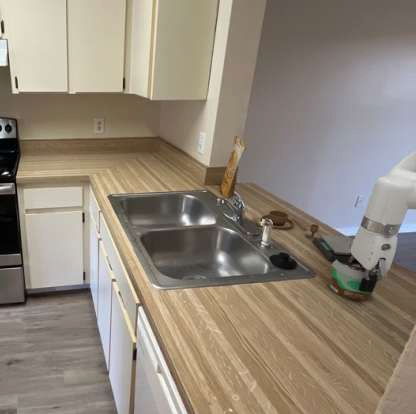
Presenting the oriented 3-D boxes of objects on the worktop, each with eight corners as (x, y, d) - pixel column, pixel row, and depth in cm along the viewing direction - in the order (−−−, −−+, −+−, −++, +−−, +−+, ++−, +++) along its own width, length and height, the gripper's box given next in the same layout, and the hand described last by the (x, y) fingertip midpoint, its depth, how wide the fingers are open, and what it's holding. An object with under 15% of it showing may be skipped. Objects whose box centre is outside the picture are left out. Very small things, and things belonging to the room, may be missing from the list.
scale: (346, 246, 119) (348, 239, 118) (366, 266, 108) (368, 258, 107) (312, 243, 121) (314, 236, 120) (328, 262, 110) (331, 255, 108)
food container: (332, 301, 92) (343, 271, 88) (324, 287, 97) (333, 258, 93) (384, 308, 89) (397, 277, 85) (372, 294, 94) (384, 264, 90)
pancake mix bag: (233, 187, 176) (242, 135, 165) (237, 200, 159) (247, 143, 148) (219, 186, 178) (227, 134, 167) (222, 199, 161) (231, 142, 150)
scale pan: (349, 239, 118) (349, 237, 117) (368, 256, 107) (368, 254, 107) (319, 236, 119) (320, 234, 119) (335, 253, 108) (335, 251, 108)
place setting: (291, 218, 141) (294, 205, 139) (318, 241, 123) (322, 227, 120) (249, 218, 141) (252, 205, 139) (270, 241, 123) (274, 226, 121)
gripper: (420, 242, 76) (393, 305, 83) (376, 212, 91) (356, 267, 98) (383, 240, 77) (359, 302, 84) (346, 210, 92) (328, 264, 100)
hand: (358, 282), depth 91 cm, fingers closed on food container, 6 cm apart
